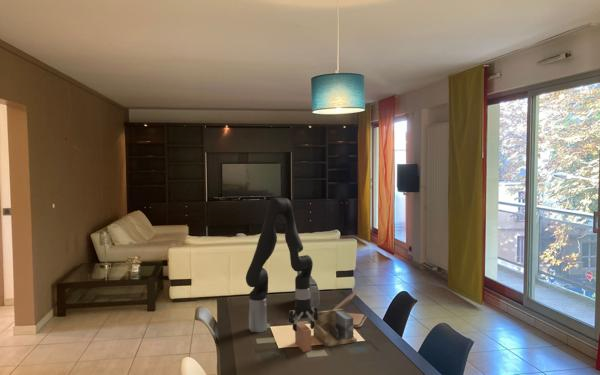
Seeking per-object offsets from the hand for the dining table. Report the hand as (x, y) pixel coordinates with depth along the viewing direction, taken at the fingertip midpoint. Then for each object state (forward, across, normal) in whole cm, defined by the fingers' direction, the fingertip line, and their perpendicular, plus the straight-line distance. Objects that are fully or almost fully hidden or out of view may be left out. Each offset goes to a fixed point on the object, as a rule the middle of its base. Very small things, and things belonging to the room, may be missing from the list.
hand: (303, 329), depth 219 cm
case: (+9, +35, +26) cm, 44 cm away
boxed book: (+8, 0, 0) cm, 8 cm away
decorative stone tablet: (+8, +24, +59) cm, 64 cm away
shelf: (+8, +18, +4) cm, 20 cm away
